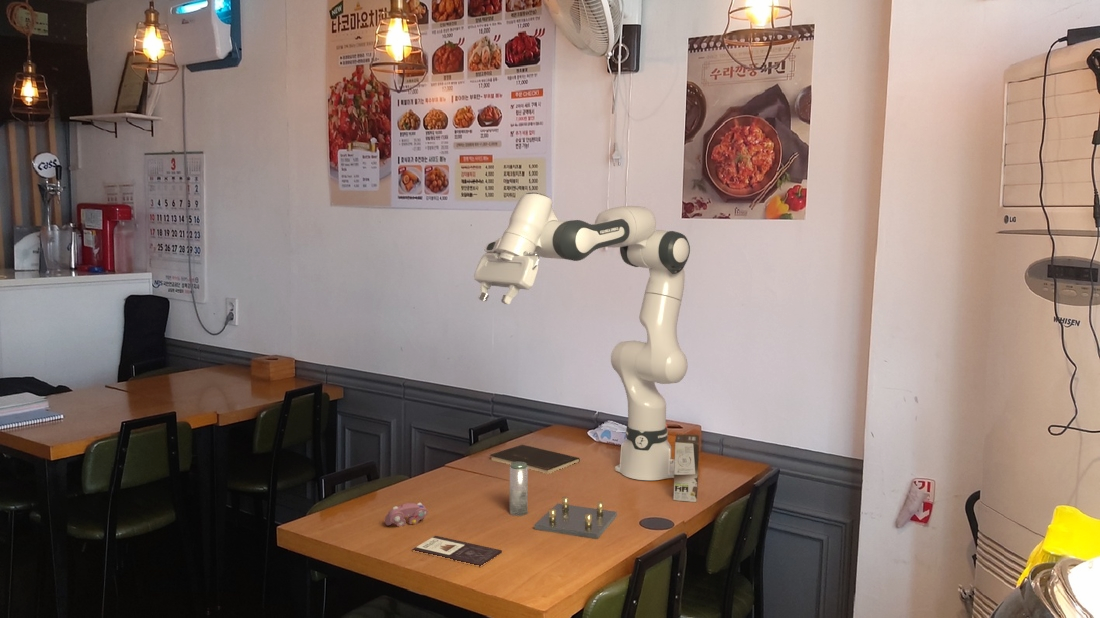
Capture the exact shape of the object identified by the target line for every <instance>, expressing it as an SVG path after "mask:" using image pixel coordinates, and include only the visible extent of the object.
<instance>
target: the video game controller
mask: <svg viewBox="0 0 1100 618" xmlns="http://www.w3.org/2000/svg"><path fill="white" fill-rule="evenodd" d="M427 515H428V509H427V507H426V506H425V505H424V504H422V502H418V503H414V502H406V503H403V504H401V505H398V506H395V505H394V506H393V507H392V508H391V509H390V510H389V512H388V513H387V514H386V515H385V518H384V524H385V525H386V526H387V527H388V526H391V525H392V524H395V525H396V526H397V527H398V526H402V527H404V526H405V525H406V523H407V522H406V518H407V517H408V522H409V524H410V525H411V524H414V525H417V524H418V523H419V521H422V520H424V519H425V518H426V516H427ZM403 525H404V526H403Z"/></svg>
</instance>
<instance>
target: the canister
mask: <svg viewBox="0 0 1100 618" xmlns="http://www.w3.org/2000/svg"><path fill="white" fill-rule="evenodd" d="M528 475H529V469H528V466H527V463H525V462H520V461H518V462H512V463H511V465H509V515H511V516H514V517H515V516H516V517H521V516H526V515H527V514H528V512H529V511H528V510H529V509H528V504H529V502H528V501H529V500H528V498H529V497H528V496H529V495H528V494H529V489H528V488H529V486H528V484H529V480H528V478H529V477H528Z"/></svg>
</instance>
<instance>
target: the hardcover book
mask: <svg viewBox="0 0 1100 618" xmlns="http://www.w3.org/2000/svg"><path fill="white" fill-rule="evenodd" d="M489 456H490V457H491V461H493V462H498V463H503V464H505V463H506V465H509V464H510V465H509V466H511V463H512V462H518V461H520V462H525V463H527V466H528V470H529V469H531V470H530V471H532V470H535V471H534V472H536V471H540V472H543V473H542V474H544V473H547V474H546V475H550V474H553V473H555V472H554V471H556V470H558V471H560V470H559V469H561V470H563V469H565V468H564V467H566V468H568V467H567V466H569V465H571V466H573V465H572V464H574V463H577V462H580V461H581V460H580V457H577V456H574V455H569V454H564V453H561V452H556V451H553V450H547V449H544V448H539V447H535V446H530V445H526V444H520V445H517V446H513V447H510V448H507V449H504V450H500V451H497V452H494V453H492V454H491V453H490V454H489ZM577 464H578V463H577ZM574 465H575V464H574ZM569 467H570V466H569ZM562 468H563V469H562ZM540 472H539V473H540ZM552 472H553V473H552ZM556 472H557V471H556ZM549 473H550V474H549Z"/></svg>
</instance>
